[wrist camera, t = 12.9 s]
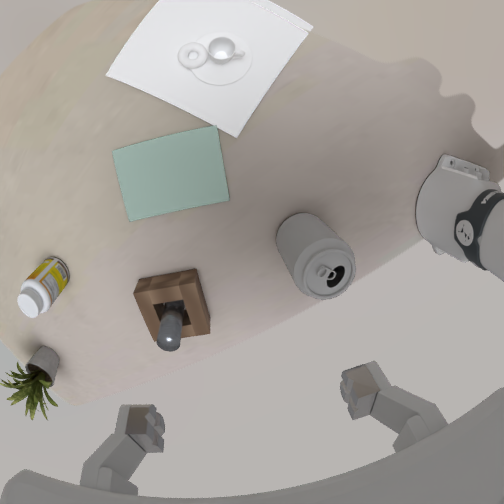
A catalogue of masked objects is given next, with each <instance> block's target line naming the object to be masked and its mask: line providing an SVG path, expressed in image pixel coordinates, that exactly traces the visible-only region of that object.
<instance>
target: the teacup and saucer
mask: <svg viewBox="0 0 504 504" xmlns="http://www.w3.org/2000/svg"><path fill="white" fill-rule="evenodd" d="M253 58H254V57H253V51H252V48H251V46H250V44H249V43H248V42H247V40H246V39H245V38H243V37H242V36H241V35H239V34H237V33H235V32H232V31H228V30H214V31H210V32H207V33H205V34H203V35H201V36H200V37H199V38H197V39H196V40H195V41H192V42H187V43H185V44H184V45H182V46H181V47H180V48H179V50H178V52H177V61H178V63H179V64H180V65H181V66H183V67H184V68H186V69H189V70H190V71H191V73H192V74H193V75H194V76H195V77H196V78H197V79H198V80H199V81H201V82H203V83H205V84H207V85H211V86H227V85H231V84H234V83H236V82H238V81H239V80H241V79H242V78H243V77H244V76H245V75H246V74H247V73H248V72H249V71H250V69H251V67H252V64H253ZM212 62H213V63H214V64H217V65H224V64H225V66H222V67H218V66H215V65H213V64H211V63H212Z"/></svg>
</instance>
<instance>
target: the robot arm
mask: <svg viewBox="0 0 504 504" xmlns="http://www.w3.org/2000/svg"><path fill="white" fill-rule="evenodd" d="M489 175H490V171H487V169H486V168H484V167H481V166H479V165H476V164H473V163H471V162H468V161H465V160H462V159H459V158H456V157H453V156H450V155H447V154H444V155H442V156H441V158H440V160H439V163H438V165H437V167H436V169H435V170H434V171H433V172H432V173H431V174H430V175H429V177H428V178H427V179H426V181H425V182H424V184H423V186H422V188H421V191H420V193H419V197H418V201H417V207H416V220H417V226H418V229H419V231H420V233H421V235H422V236H423V238H424V239H425V240H427V241H428V242H430V243H431V244H432V247H433V249H434V251H435V253H437V254H439V255H441V254H443V253H447V254H449V255H450V256H452V257H454V258H456V259H458V260H460V261H461V262H465V263H466V262H467V261H471V262H472V263H473V264H474V265H475V266H477V267H479V268H481V269H483V270H488V271H490V272H491V273H493V274H494V275H495V276H497V277H498V278H500V279H501V280H502V281H503V282H504V193H502V192H501V189H500V186H499V184H497V183H495V182H492V181H490V179H489ZM341 376H342V379H343V381H341V383H340V390H341V394H342V397H343V400H344V401H345V402H346V403H348V411H349V413H350V415H351V418H352V420H355V419H358V418H361V417H364V416H367V415H371V416H372V417H374V418H375V419H377V420H378V421H380V422H381V423H383V424H384V425H386V426H387V427H389V428H390V429H392V430H393V431H395V432H396V433H398V434H399V436H398V437H397V439H396V440H395V442H394V444H393V447H394V449H395V452H396V453H394V454H392V455H390V456H388V457H386V458H383V459H381V460H378V461H376V462H373V463H371V464H368V465H366V466H363V467H360V468H358V469H355V470H352V471H349V472H346V473H343V474H340V475H337V476H333V477H330V478H327V479H324V480H320V481H316V482H312V483H308V484H304V485H300V486H296V487H291V488H286V489H281V490H276V491H270V492H264V493H257V494H250V495H241V496H232V497H217V498H159V497H146V496H138V488H137V486H135V485H134V484H132V483H131V482H129V481H128V480H129V479H130V477H131V476H132V474H133V473H134V471H135V470H136V468H137V467H138V466H139V464H140V463H141V461H142V460H143V458H144V457H145V455H146V453H148V452H149V453H150V452H152V453H153V452H163V448H164V439H163V438H162V437H161V436H162V435H163V434H164V432H165V424H164V419H163V417H162V415H161V414H159V413H158V412H156V407H155V406H154V405H153V404H151V405H150V404H149V405H121V407H120V409H119V414H118V418H117V423H116V428H115V433H114V434H111V435H110V436H109V437H108V438H107V439H106V440H105V441H104V443H103V444H102V445H101V446H100V447H99V448H98V449H97V450H96V451H95V452H94V453H93V454H92V455H91V456H90V457H89V458H88V459H87V460H86V461H85V462H84V464H83V470H82V475H81V480H80V486H79V485H75V484H71V483H68V482H64V481H60V480H57V479H54V478H51V477H47V476H44V475H41V474H39V473H36V472H33V471H30V470H27V469H24V470H22V471H20V472H19V473H17V474H16V475H15V476H14V477H12V478H11V479H10V480H9V481H8V482H7V483H6V485H5V487H4V489H3V492H2V495H1V499H0V504H504V388H500V389H498V390H497V391H495V392H494V393H493V394H492V395H490V396H489V397H488V398H486V399H485V400H484V401H482V402H481V403H480V404H478V405H477V406H476V407H474V408H473V409H471V410H470V411H468V412H467V413H466V414H464V415H463V416H461V417H460V418H458V419H456V420H455V421H453V422H452V423H450V424H449V425H448V423H447V422H446V420H445V418H444V417H443V415H442V414H441V412H440V411H439V409H438V408H437V406H436V405H435V404H434V403H431V402H429V401H427V400H425V399H422V398H420V397H418V396H416V395H413V394H412V393H409V392H407V391H405V390H403V389H401V388H399V387H397V386H391V384H390V383H389V382H388V380H387V378H386V376H385V375H384V373H383V372H382V370H381V368H380V367H379V365H378V364H377V362H375V361H372V362H369V363H366V364H362V365H360V366H357V367H354V368H351V369H348V370H345V371H343V372H342V375H341Z"/></svg>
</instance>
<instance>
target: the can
mask: <svg viewBox="0 0 504 504" xmlns="http://www.w3.org/2000/svg"><path fill="white" fill-rule="evenodd" d="M276 244H277V247H278V251H279V253H280V255H281V256H282V258H283V260H284V262H285V264H286V266H287V268H288V270H289V272H290V274H291V276H292V278H293V280H294V282H295V284H296V286H297V287H298V288H299V289H300V291H301V292H303V293H304V294H306V295H308V296H311V297H314V298H315V299H321V300H326V299H332V298H334V297H337V296H339V295H340V294H342V293H343V292H344V291H346V290H347V288H348V287H349V286H350V285H351V283H352V281H353V279H354V277H355V272H356V266H355V257H354V253H353V251H352V249H351V248H350V246H349V245H348V244H347V243H346V242H345V241H344V240H343V239H341V238H340V237H339V236H338V235H337V234H336V233H335V232H334V231H333V230H332V229H331V228H329V227H328V226H327V225H326V224H325V223H324V222H323V221H322V220H320V219H319V218H318V217H317V216H315V215H312V214H309V213H299V214H296V215H293V216H291V217H290V218H288V219H287V220H285V221H284V222H283V224H282V225H281V226H280V228H279V230H278V233H277V237H276Z"/></svg>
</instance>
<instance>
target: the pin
mask: <svg viewBox="0 0 504 504" xmlns="http://www.w3.org/2000/svg"><path fill="white" fill-rule="evenodd" d="M184 307H185V304H184V301H183V300H177V301H171V302H165V305H164V309H163V314H162V318H161V323H160V327H159V332H158V336H157V345H158V346H159V347H160V348H161V349H163V350H165V351H175V350H177V349H178V348H179V346H180V340H181V331H182V323H183V315H184Z"/></svg>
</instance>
